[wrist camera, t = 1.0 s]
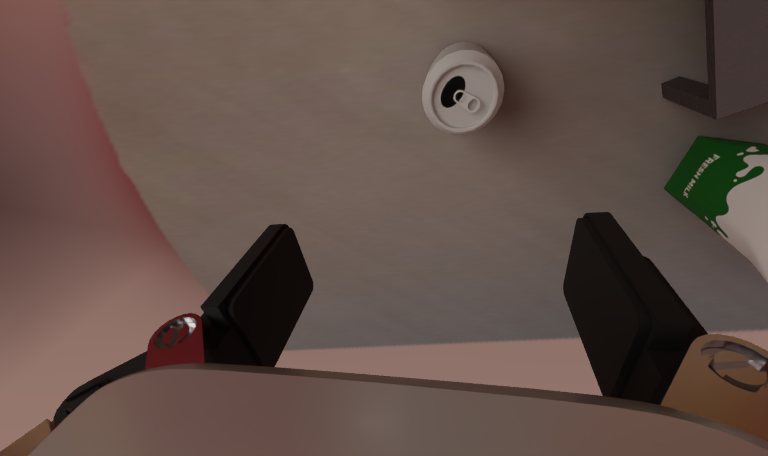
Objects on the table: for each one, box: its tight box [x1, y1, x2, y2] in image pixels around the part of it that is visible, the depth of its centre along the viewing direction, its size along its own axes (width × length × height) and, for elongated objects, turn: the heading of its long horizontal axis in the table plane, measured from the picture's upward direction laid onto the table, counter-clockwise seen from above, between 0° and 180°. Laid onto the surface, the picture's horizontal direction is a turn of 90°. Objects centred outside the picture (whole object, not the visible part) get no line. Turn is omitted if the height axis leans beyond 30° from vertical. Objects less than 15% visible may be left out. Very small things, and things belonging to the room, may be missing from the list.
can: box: [422, 42, 504, 135], centre depth 33 cm, size 8×8×12 cm
